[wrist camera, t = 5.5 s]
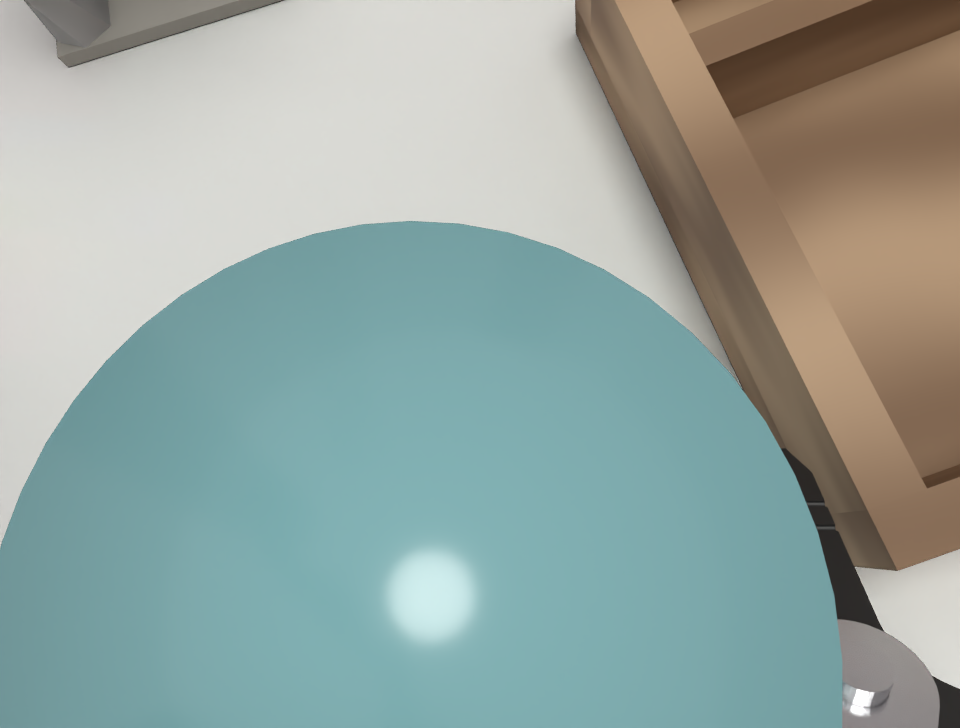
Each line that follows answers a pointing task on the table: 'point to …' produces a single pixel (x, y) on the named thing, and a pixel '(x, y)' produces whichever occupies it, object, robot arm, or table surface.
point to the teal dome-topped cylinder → (415, 510)
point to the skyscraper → (126, 22)
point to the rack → (815, 229)
